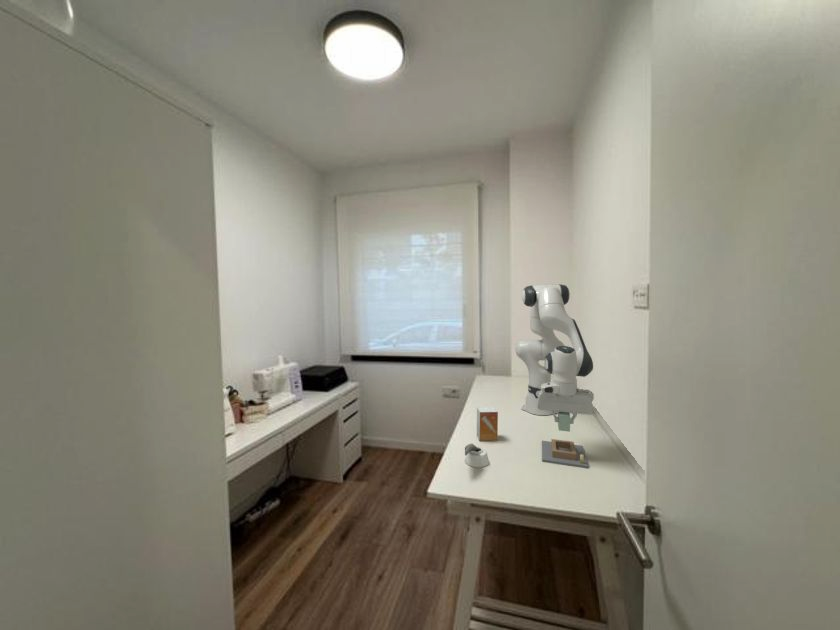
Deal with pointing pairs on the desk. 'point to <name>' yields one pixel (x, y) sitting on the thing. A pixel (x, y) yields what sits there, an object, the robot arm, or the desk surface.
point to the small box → (487, 424)
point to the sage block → (564, 421)
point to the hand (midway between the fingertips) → (563, 422)
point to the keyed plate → (563, 453)
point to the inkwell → (476, 456)
